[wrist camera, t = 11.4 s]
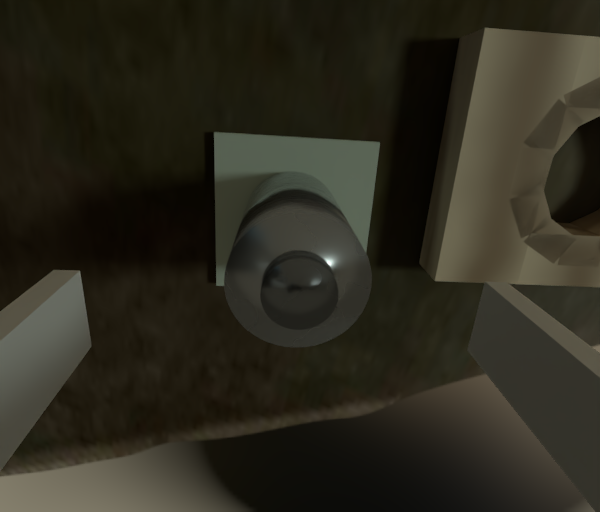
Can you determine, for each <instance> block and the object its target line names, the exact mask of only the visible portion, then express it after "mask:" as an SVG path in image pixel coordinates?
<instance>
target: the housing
mask: <svg viewBox="0 0 600 512" xmlns="http://www.w3.org/2000/svg"><path fill="white" fill-rule="evenodd" d="M599 116H600V37H593V36H580V35H568V34H555V33H543V32H531V31H518V30H506V29H493V28H483V29H481V30H478V31H476V32H473V33H471V34H468V35H466V36H463V37H460V39H459V45H458V50H457V56H456V61H455V67H454V72H453V78H452V83H451V89H450V95H449V100H448V106H447V111H446V117H445V122H444V128H443V133H442V139H441V145H440V150H439V156H438V161H437V167H436V172H435V178H434V183H433V189H432V195H431V200H430V206H429V211H428V217H427V222H426V228H425V233H424V239H423V245H422V250H421V256H420V261H419V264H420V265H421V266H422V267H423V268H424V269H425V271H426V272H427V273H428V274H429V275H430V276H431V277H432V278H433V280H434V281H447V282H474V283H485V282H507V283H508V284H527V285H554V286H581V287H600V208H599V209H598V210H597V211H595V212H593V213H591V214H588V215H586V216H584V217H582V218H579V219H577V220H575V221H573V222H571V223H556V222H555V221H554V220H552V219H551V216H550V212H549V208H548V205H547V201H546V197H545V194H544V187H545V183H546V180H547V176H548V173H549V169H550V166H551V162H552V158H553V156H554V155H555V154H556V152H557V151H558V150H559V149H560V148H561V146H562V145H563V144H564V143H565V142H566V141H567V139H568V138H569V137H570V136H571V135H572V133H573V132H574V131H575V130H576V129H577V128H578V126H580V125H583V124H585V123H587V122H589V121H591V120H593V119H595V118H597V117H599Z"/></svg>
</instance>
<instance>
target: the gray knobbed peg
mask: <svg viewBox="0 0 600 512" xmlns="http://www.w3.org/2000/svg"><path fill="white" fill-rule="evenodd" d="M371 282H372V276H371V267H370V263H369V260H368V257H367V254H366V252H365V250H364V249H363V247H362V245H361V243H360V242H359V240H358V238H357V236H356V235H355V233H354V231H353V229H352V228H351V226H350V224H349V222H348V221H347V219H346V217H345V216H344V214H343V212H342V210H341V209H340V207H339V205H338V203H337V202H336V200H335V198H334V196H333V195H332V193H331V192H330V190H329V189H328V188H327V187H326V185H325V184H324V183H322V182H321V181H320V180H318V179H317V178H315V177H313V176H311V175H309V174H306V173H302V172H295V171H290V172H282V173H278V174H275V175H273V176H270V177H269V178H267V179H265V180H264V181H263V182H261V183H260V184H259V185H258V186H257V187H256V188H255V190H254V191H253V192H252V194H251V196H250V198H249V200H248V203H247V205H246V208H245V211H244V214H243V217H242V220H241V223H240V226H239V229H238V232H237V235H236V238H235V241H234V244H233V247H232V250H231V253H230V256H229V258H228V261H227V265H226V269H225V275H224V287H225V294H226V298H227V301H228V304H229V307H230V309H231V311H232V312H233V314H234V316H235V317H236V318H237V320H238V321H239V322H240V323H241V324H242V325H243V326H244V327H245V328H246V329H247V330H248V331H249V332H251V333H252V334H253V335H255V336H257V337H258V338H260V339H262V340H264V341H266V342H269V343H272V344H275V345H280V346H285V347H308V346H314V345H318V344H321V343H324V342H327V341H329V340H331V339H333V338H335V337H337V336H339V335H340V334H341V333H343V332H344V331H346V330H347V329H348V328H349V327H350V326H351V325H352V324H353V323H354V322H355V321H356V320H357V319H358V317H359V316H360V314H361V313H362V312H363V310H364V308H365V306H366V304H367V301H368V298H369V295H370V290H371Z"/></svg>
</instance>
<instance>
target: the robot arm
mask: <svg viewBox="0 0 600 512" xmlns="http://www.w3.org/2000/svg"><path fill="white" fill-rule="evenodd" d="M90 348H91V339H90V333H89V326H88V320H87V313H86V307H85V301H84V294H83V288H82V281H81V275H80V271H75V270H53V271H52V272H51V273H49V274H48V275H47V276H45V277H44V278H43V279H42V280H40V281H39V282H38V283H36V284H35V285H34V286H33V287H31V288H30V289H29V290H27V291H26V292H25V293H24V294H22V295H21V296H20V297H18V298H17V299H16V300H14V301H13V302H12V303H11V304H9V305H8V306H7V307H5V308H4V309H3V310H2V311H0V471H1V469H2V468H3V467H4V465H5V464H6V463H7V461H8V460H9V458H10V457H11V456H12V454H13V453H14V452H15V450H16V449H17V448H18V446H19V445H20V443H21V442H22V441H23V439H24V438H25V437H26V435H27V434H28V432H29V431H30V430H31V428H32V427H33V426H34V424H35V423H36V422H37V420H38V419H39V417H40V416H41V415H42V413H43V412H44V411H45V409H46V408H47V406H48V405H49V404H50V402H51V401H52V400H53V398H54V397H55V396H56V394H57V393H58V391H59V390H60V389H61V387H62V386H63V385H64V383H65V382H66V380H67V379H68V378H69V376H70V375H71V374H72V372H73V371H74V370H75V368H76V367H77V365H78V364H79V363H80V361H81V360H82V359H83V357H84V356H85V354H86V353H87V352H88V350H89V349H90ZM468 352H469V353H470V354H471V355H472V357H473V358H474V359H475V360H476V362H477V363H478V364H479V365H480V367H481V368H482V369H483V371H484V372H485V373H486V374H487V375H488V376H489V378H490V379H491V381H492V382H493V383H494V384H495V385H496V387H497V388H498V389H499V391H500V392H501V393H502V394H503V396H504V397H505V398H506V400H507V401H508V402H509V403H510V404H511V406H512V407H513V408H514V410H515V411H516V412H517V413H518V415H519V416H520V417H521V418H522V420H523V421H524V422H525V423H526V425H527V426H528V427H529V428H530V430H531V431H532V432H533V433H534V435H535V436H536V437H537V439H538V440H539V441H540V442H541V444H542V445H543V446H544V447H545V449H546V450H547V451H548V452H549V454H550V455H551V456H552V458H553V459H554V460H555V461H556V463H557V464H558V465H559V466H560V468H561V469H562V470H563V471H564V472H565V474H566V475H567V476H568V478H569V479H570V480H571V481H572V483H573V484H574V485H575V486H576V488H577V489H578V490H579V492H580V493H581V494H582V495H583V497H584V498H585V499H586V500H587V502H588V503H589V504H590V505H591V507H592V508H593V509H594V510H595V512H600V353H599V352H597V351H596V350H595V349H593V348H592V347H591V346H589V345H588V344H587V343H585V342H584V341H583V340H582V339H580V338H579V337H578V336H576V335H575V334H574V333H572V332H571V331H570V330H568V329H567V328H566V327H565V326H563V325H562V324H561V323H559V322H558V321H557V320H555V319H554V318H553V317H551V316H550V315H549V314H548V313H546V312H545V311H544V310H542V309H541V308H540V307H538V306H537V305H536V304H534V303H533V302H532V301H531V300H529V299H528V298H527V297H525V296H524V295H523V294H521V293H520V292H519V291H517V290H516V289H515V288H513V287H512V286H511V285H510V284H508V283H507V282H485V284H484V288H483V292H482V296H481V299H480V303H479V307H478V311H477V315H476V319H475V323H474V327H473V331H472V335H471V338H470V342H469V346H468Z"/></svg>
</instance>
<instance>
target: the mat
mask: <svg viewBox="0 0 600 512" xmlns="http://www.w3.org/2000/svg"><path fill="white" fill-rule="evenodd" d="M379 147H380V142H375V141H358V140H342V139H325V138H309V137H292V136H276V135H259V134H243V133H226V132H214V165H215V230H216V286H224V275H225V269H226V265H227V261H228V258H229V256H230V253H231V250H232V247H233V244H234V241H235V238H236V235H237V232H238V229H239V226H240V223H241V220H242V217H243V214H244V211H245V208H246V205H247V203H248V200H249V198H250V196H251V194H252V192H253V191H254V190H255V188H256V187H257V186H258V185H259V184H260V183H261V182H263V181H264V180H265V179H267V178H269V177H270V176H273V175H275V174H278V173H282V172H290V171H295V172H302V173H306V174H309V175H311V176H313V177H315V178H317V179H318V180H320V181H321V182H322V183H324V184H325V185H326V187H327V188H328V189H329V190H330V192H331V193H332V195H333V196H334V198H335V200H336V202H337V203H338V205H339V207H340V209H341V210H342V212H343V214H344V216H345V217H346V219H347V221H348V222H349V224H350V226H351V228H352V229H353V231H354V233H355V235H356V236H357V238H358V240H359V242H360V243H361V245H362V247H363V249H364V250H365V252H366V249H367V241H368V233H369V225H370V218H371V210H372V202H373V194H374V186H375V178H376V171H377V163H378V155H379Z"/></svg>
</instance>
